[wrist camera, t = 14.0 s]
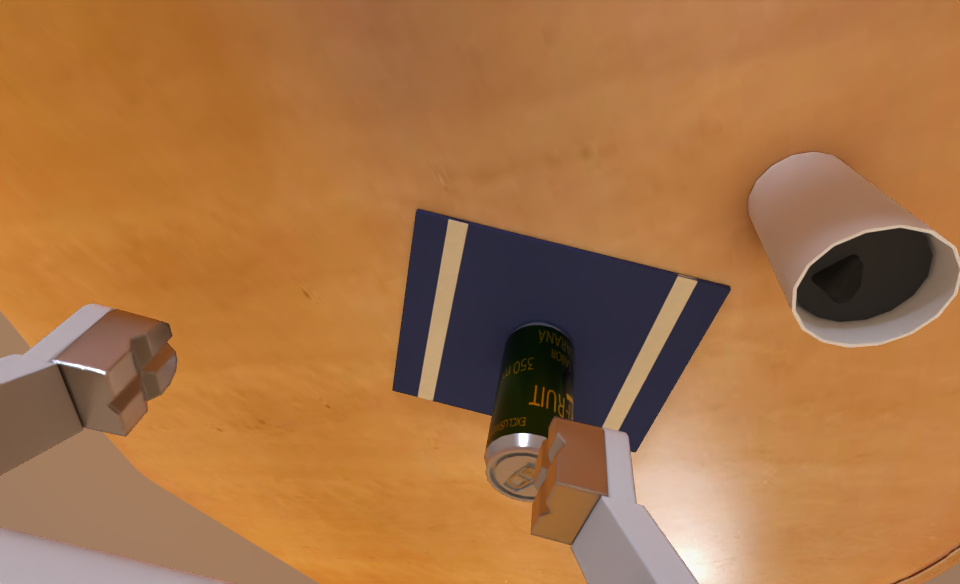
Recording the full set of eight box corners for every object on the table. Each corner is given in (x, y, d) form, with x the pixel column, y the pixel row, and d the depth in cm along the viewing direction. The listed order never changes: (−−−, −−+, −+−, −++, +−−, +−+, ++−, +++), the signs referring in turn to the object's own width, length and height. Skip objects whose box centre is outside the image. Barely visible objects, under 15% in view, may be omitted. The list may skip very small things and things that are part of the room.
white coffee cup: (779, 264, 35) (839, 368, 26) (716, 197, 33) (761, 287, 25) (886, 198, 31) (993, 295, 23) (823, 119, 29) (915, 193, 21)
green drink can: (544, 382, 43) (533, 515, 34) (491, 347, 42) (464, 475, 32) (589, 345, 40) (591, 478, 31) (534, 306, 39) (518, 433, 29)
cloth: (393, 387, 47) (392, 391, 47) (417, 208, 36) (415, 211, 36) (635, 449, 47) (635, 453, 46) (729, 286, 36) (731, 289, 36)
